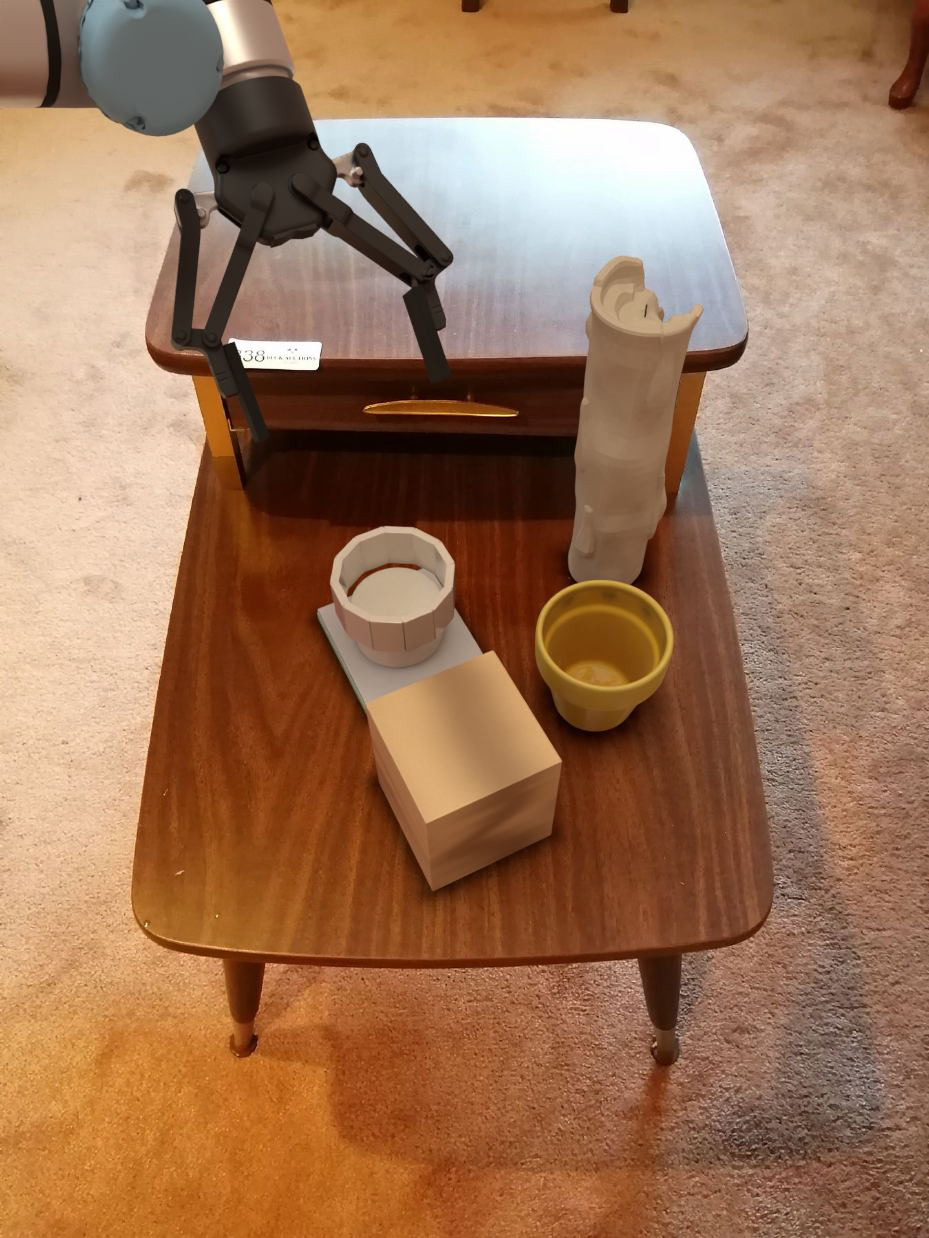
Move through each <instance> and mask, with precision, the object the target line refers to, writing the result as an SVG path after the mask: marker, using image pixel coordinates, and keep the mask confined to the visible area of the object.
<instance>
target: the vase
mask: <svg viewBox="0 0 929 1238" xmlns="http://www.w3.org/2000/svg"><path fill="white" fill-rule="evenodd" d="M645 275H646V273H645V268H644V262H643V260H642V259H641V258H639V257H635V256H630V255H619V256H615V257H613V258H612V259H610V260H609V261H608V262H607V263H606V264H604V265H603V267H602V268H601V269H600V270H599V272H598V273H597V274H596V275H595V276H594V279H593V282H592V287H591V290H590V293H589V303H590V304H589V305H590V309H591V310H590V313H589V315H588V317H587V318H586V320H585V335H586V337H587V339H588V348H587V356H586V362H585V363H586V364H585V372H584V382H583V383H584V385H583V398H582V400H581V402H580V406H579V422H578V431H577V436H576V437H577V438H576V444H575V450H574V464H575V482H574V493H575V514H574V522H573V528H572V529H573V530H572V537H571V542H570V545H569V550H568V556H567V564H568V571H569V573H570V576H571V577H572V578H573V580H574V581H575V582H577V583H580V582H584V581H591V580H611V581H617V582H622V583H625V584H628V585H632V584H633V583H634V582H635V580H636V579H637V578H638V577H639V575H640V574H641V572H642V568H643V563H644V561H645V560H644V559H645V555H646V550H647V545H648V541H649V540H651V539H652V538H653V537H654V535H655V533H656V531H657V527H658V523H659V522H660V521H661V519H662V518H663V516H664V514H665V511H666V510H667V504H668V503H667V501H668V499H667V493H666V485H665V484H666V473H665V469H666V461H667V456H668V452H669V448H670V442H671V437H672V431H673V424H674V423H673V421H674V413H675V406H676V401H677V396H678V390H679V385H680V380H681V376H682V372H683V368H684V364H685V359H686V356H687V353H688V349H689V344H690V341H691V337H692V334H693V331H694V329H695V328H696V325H697V324H698V322H699V321H700V319H701V317H702V315H703V313H704V310H705V309H704V306H703V305H702V304H700V303H698V304H695V305H693V306H692V307H691V308H690V311H688V312H686V313H684V314H676V315H675V314H674V315H672V316H671V317H669V319H668V320H666V321H665V322H664V318H665V311H664V307H663V306H660V305H659V300H658V296H657V295H656V293H655V292H654V291H652V290H650V289H648V288H647V287H646V284H645V279H646V278H645V277H646V276H645ZM577 583H576V584H577Z"/></svg>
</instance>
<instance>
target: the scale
mask: <svg viewBox="0 0 929 1238" xmlns="http://www.w3.org/2000/svg"><path fill="white" fill-rule="evenodd" d="M416 571H419V572H421V573H423V574H425V575H426V576H428V577H429V578H430V579H432V580H433V582H434V583H435V584H436V585H437V587H438V588H439V590H440V591H441V590H442V589H443V586H442V584H441V583H440V581H439V579H438V578H437V576H436V575H435V574H433V573H431V572H429V571H427V570H425V569H423V568H420V569H418V570H416ZM347 598H348V600H349V602H351V598H352V595H350V596H347ZM316 615H317V620H318V621H319V624H320V626H321V628H322V629H323V631H324V634H325V635H326V638H327V639H328V642H329V644H330V645H331V647H332V649H333V651H334V653H335V655H336V657H337V659H338V661H339V663H340V665H341V667H342V669H343V671H344V673H345V675H346V677H347V679H348V681H349V683H350V685H351V687H352V689H353V691H354V693H355V695H356V697H357V699H358V701H359V703H360V705H361V708H362V709H363V711H364V713H365V715H366V716H367V712H366V706H365V704H366V703H368V702H370V701H373V700H375V699H377V698H380V697H382V696H385V695H387V694H389V693H392V692H394V691H396V690H399V689H401V688H404V687H406V686H408V685H411V684H413V683H416V682H418V681H420V680H423V679H425V678H428V677H430V676H432V675H435V674H437V673H440V672H442V671H444V670H447V669H449V668H451V667H454V666H456V665H459V664H461V663H463V662H466V661H468V660H471V659H473V658H475V657H478V656H480V655H483V654H484V653H483V651H482V650H481V647H479V645H478V643H477V641H476V639H475V638H474V636H473V635H472V633H471V632H470V630H469V628H468V627H467V625H466V623H465V622H464V620H463V618H462V617H461V615H460V614H459V612H458V610H457V609H456V608H455V609H454V617H453V619H452V621H451V622H450V623H449V624H448V625H447V627H446V628H445V629H444V630H443V638H442V640H441V643H440V645H439V647H438V648H437V649H436V651H435V652H434V653H433V654H432V655H431V656H430V657H428V658H427V659H426V660H424V661H422V662H420V663H418V664H415V665H413V666H408V667H402V668H393V667H386V666H382V665H379V664H377V663H375V662H373V661H371V660H370V659H368V658H367V657H366V656H365V655H364V654H363V653H362V652H361V650H360V649H359V647H358V645H357V643H356V640H354V639H353V638H351V637H349V636H348V635H347V634H346V632H345V630H344V628H343V626H342V624H341V622H340V620H339V618H338V616H337V614H336V611H335V606H334V602H332V603H329V604H327V605H324V606H322V607H319V608H318V609H317V612H316Z"/></svg>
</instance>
